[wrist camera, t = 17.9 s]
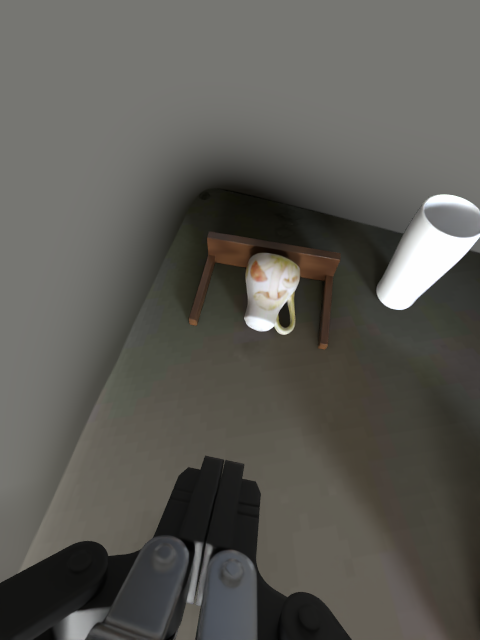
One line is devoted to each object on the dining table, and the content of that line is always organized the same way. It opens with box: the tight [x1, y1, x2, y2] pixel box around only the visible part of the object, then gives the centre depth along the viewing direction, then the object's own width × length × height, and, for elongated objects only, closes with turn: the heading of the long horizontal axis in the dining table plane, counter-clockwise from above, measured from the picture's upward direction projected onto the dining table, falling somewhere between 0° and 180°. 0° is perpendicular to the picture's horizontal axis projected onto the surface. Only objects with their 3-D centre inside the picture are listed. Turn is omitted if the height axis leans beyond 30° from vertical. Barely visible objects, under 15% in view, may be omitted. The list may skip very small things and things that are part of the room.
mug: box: [244, 253, 300, 335], centre depth 45 cm, size 8×10×10 cm
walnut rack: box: [189, 231, 341, 349], centre depth 46 cm, size 18×12×5 cm
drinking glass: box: [376, 194, 480, 310], centre depth 42 cm, size 7×7×15 cm
